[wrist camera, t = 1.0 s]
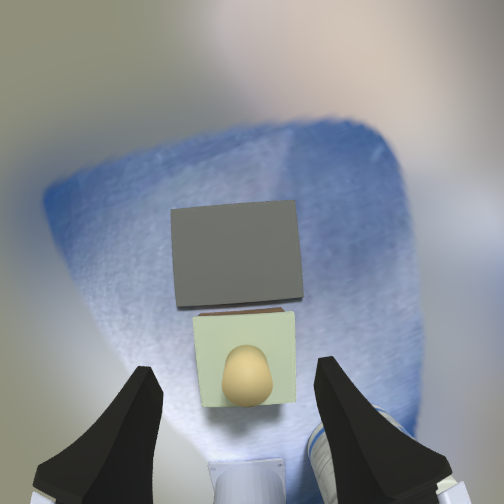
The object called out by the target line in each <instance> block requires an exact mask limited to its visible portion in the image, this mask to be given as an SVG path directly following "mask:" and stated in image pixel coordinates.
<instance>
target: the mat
mask: <svg viewBox="0 0 504 504" xmlns="http://www.w3.org/2000/svg"><path fill="white" fill-rule="evenodd" d="M171 234H172V254H173V270H174V284H175V295H176V306H177V307H178V306H199V305H215V304H230V303H244V302H256V301H268V300H279V299H289V298H299V297H304V293H303V279H302V267H301V255H300V244H299V234H298V224H297V214H296V205H295V200H284V201H266V202H251V203H237V204H224V205H213V206H202V207H191V208H181V209H172V210H171Z"/></svg>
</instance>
